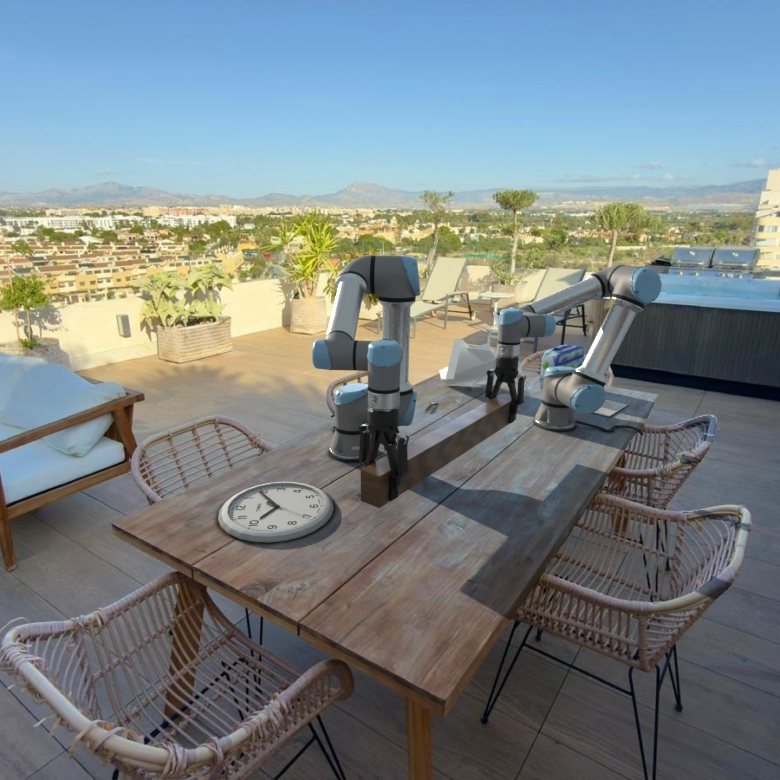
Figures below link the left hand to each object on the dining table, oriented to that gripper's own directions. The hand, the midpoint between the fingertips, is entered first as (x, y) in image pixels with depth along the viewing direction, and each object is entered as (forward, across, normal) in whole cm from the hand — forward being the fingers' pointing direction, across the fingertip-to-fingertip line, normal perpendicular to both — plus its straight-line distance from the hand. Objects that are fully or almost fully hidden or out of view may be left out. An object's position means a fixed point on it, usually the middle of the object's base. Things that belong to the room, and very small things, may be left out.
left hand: (382, 494), depth 130 cm
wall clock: (+9, -27, -11) cm, 31 cm away
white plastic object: (+10, -35, +118) cm, 124 cm away
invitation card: (+10, +15, +134) cm, 136 cm away
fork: (+10, -42, +87) cm, 97 cm away
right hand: (0, 0, +68) cm, 68 cm away
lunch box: (+10, -8, +148) cm, 149 cm away
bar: (+1, 0, +34) cm, 34 cm away
